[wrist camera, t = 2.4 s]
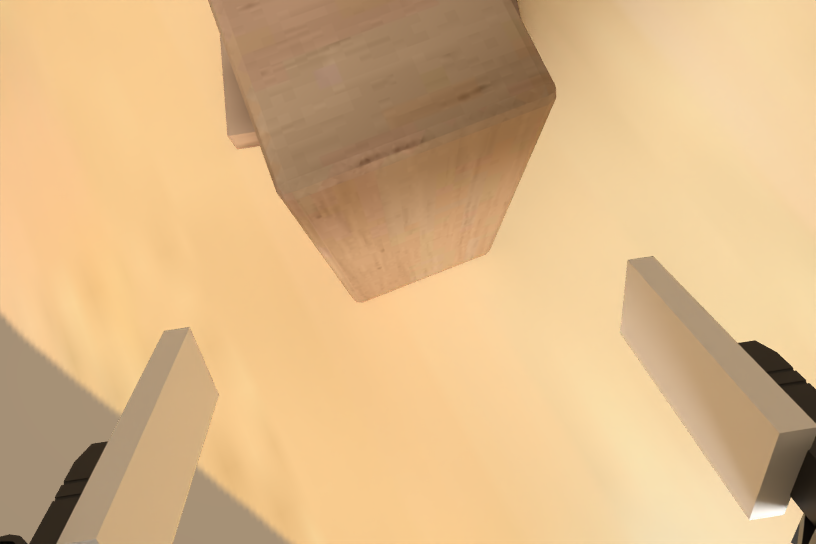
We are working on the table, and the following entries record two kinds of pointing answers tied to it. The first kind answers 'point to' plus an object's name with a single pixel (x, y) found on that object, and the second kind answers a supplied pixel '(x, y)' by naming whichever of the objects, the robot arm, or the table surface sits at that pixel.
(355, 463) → the table surface
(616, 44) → the table surface
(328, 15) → the wooden block
